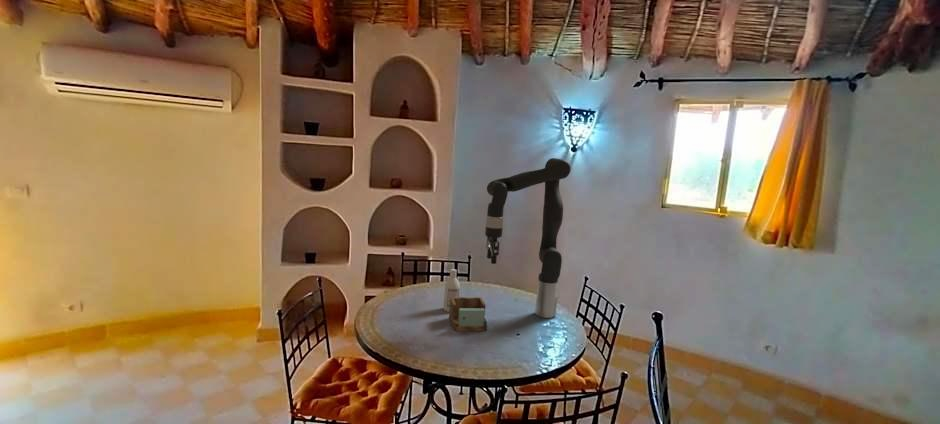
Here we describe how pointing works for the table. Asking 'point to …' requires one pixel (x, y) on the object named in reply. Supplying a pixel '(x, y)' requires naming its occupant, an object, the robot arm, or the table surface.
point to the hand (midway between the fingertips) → (491, 260)
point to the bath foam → (451, 289)
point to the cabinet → (465, 303)
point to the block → (471, 317)
